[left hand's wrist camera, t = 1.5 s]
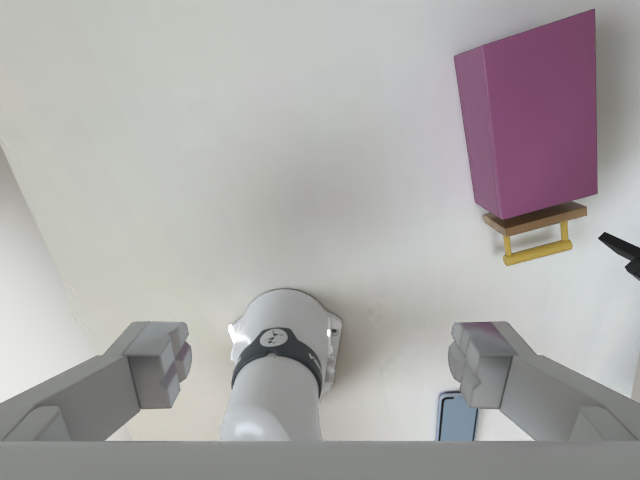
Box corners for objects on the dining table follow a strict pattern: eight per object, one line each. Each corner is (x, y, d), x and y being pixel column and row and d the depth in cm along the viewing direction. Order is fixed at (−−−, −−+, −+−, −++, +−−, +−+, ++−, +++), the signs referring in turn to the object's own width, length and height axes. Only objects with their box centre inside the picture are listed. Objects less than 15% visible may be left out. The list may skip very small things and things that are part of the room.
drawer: (558, 238, 52) (588, 255, 46) (489, 257, 53) (510, 275, 47) (548, 64, 43) (583, 57, 37) (466, 90, 44) (488, 87, 38)
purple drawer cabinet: (554, 180, 49) (597, 193, 42) (475, 202, 51) (502, 220, 43) (545, 26, 42) (595, 8, 35) (453, 56, 44) (482, 45, 36)
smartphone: (435, 453, 68) (440, 396, 62) (434, 448, 69) (438, 392, 63) (473, 451, 68) (481, 394, 62) (471, 447, 69) (479, 390, 63)
